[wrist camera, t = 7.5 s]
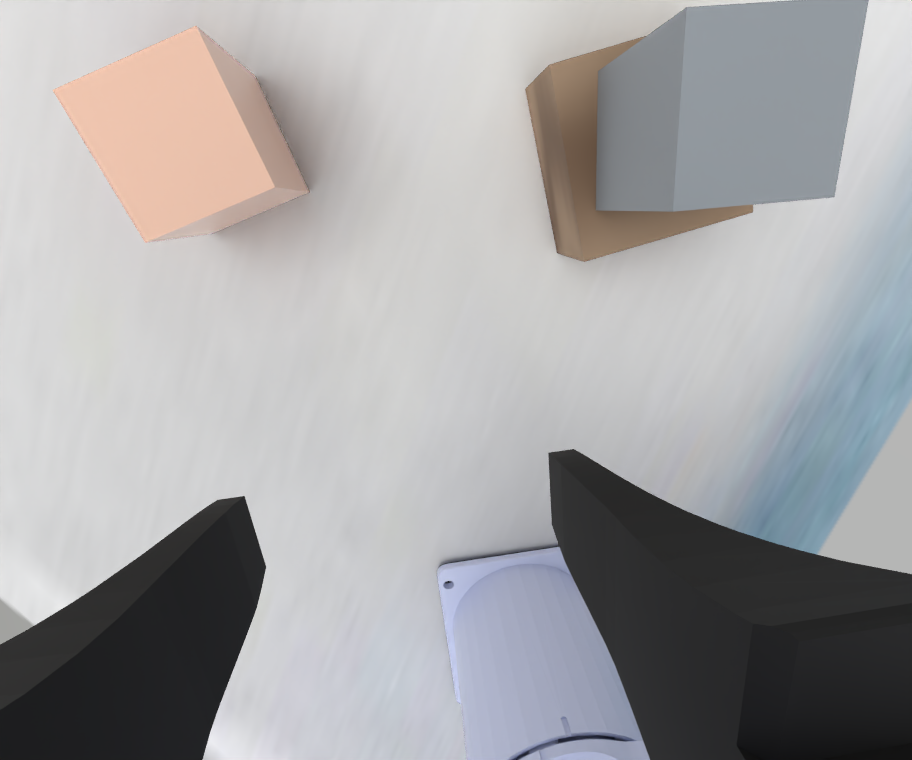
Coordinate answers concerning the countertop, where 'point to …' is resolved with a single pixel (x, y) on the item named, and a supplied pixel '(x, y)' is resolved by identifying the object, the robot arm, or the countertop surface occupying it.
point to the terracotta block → (183, 137)
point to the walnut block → (592, 166)
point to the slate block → (729, 107)
